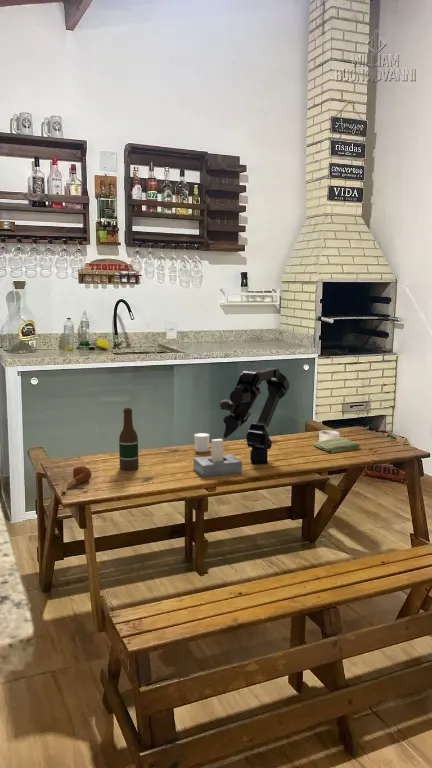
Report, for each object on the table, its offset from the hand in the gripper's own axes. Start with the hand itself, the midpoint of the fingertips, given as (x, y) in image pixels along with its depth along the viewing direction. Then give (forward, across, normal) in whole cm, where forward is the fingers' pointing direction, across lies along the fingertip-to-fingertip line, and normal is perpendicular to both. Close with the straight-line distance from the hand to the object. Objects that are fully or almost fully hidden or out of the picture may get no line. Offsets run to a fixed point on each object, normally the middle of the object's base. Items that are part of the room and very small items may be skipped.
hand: (227, 434), depth 257 cm
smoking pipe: (+32, +41, -33) cm, 62 cm away
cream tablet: (+12, +9, +4) cm, 15 cm away
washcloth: (-6, -40, +40) cm, 57 cm away
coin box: (+12, +8, +4) cm, 15 cm away
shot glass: (+20, -18, -9) cm, 28 cm away
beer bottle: (+28, +15, -26) cm, 41 cm away
